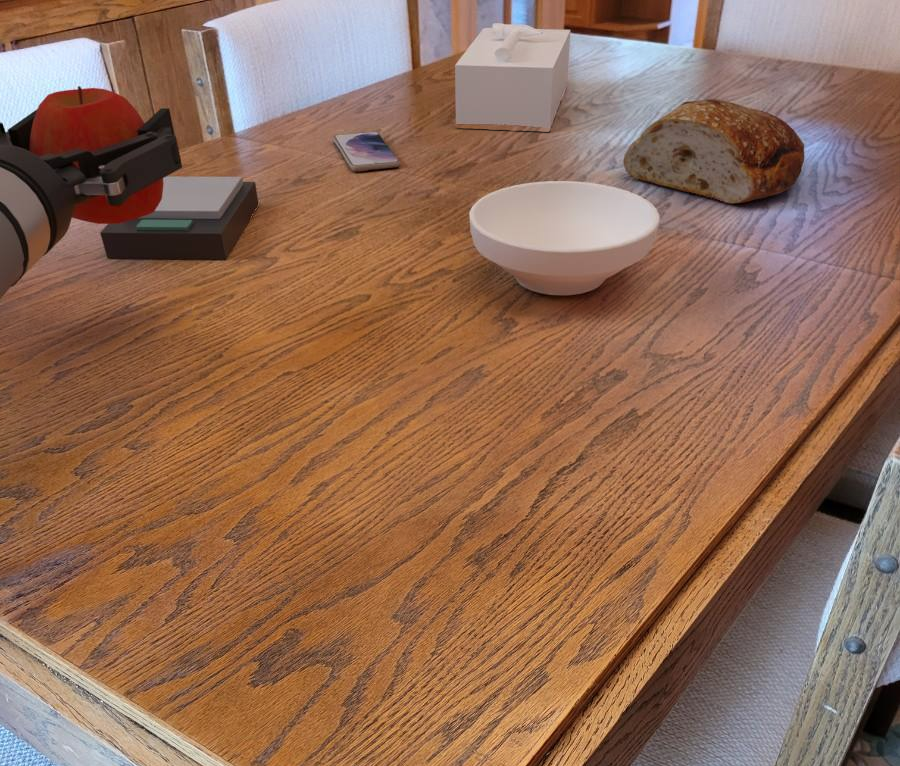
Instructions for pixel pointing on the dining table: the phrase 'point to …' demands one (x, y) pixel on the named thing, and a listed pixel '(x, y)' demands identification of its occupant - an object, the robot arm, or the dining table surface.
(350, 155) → the smartphone
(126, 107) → the apple
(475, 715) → the dining table surface
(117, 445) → the dining table surface
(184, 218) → the scale
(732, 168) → the bread
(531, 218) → the bowl
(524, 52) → the tissue box
